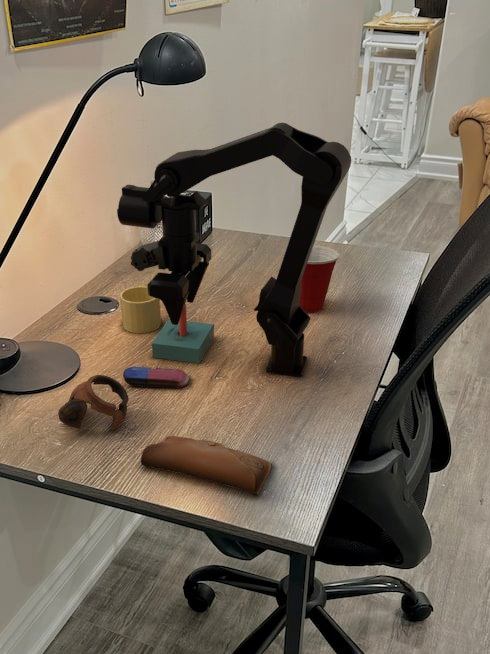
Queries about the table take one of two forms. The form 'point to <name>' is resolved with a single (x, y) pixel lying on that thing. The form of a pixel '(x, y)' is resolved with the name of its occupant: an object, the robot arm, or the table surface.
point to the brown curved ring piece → (93, 402)
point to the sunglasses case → (208, 462)
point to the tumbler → (140, 310)
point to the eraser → (155, 377)
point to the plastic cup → (317, 278)
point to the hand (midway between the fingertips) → (182, 313)
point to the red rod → (183, 323)
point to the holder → (183, 342)
